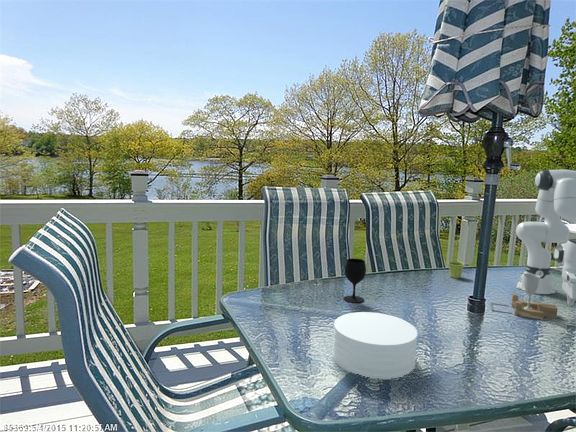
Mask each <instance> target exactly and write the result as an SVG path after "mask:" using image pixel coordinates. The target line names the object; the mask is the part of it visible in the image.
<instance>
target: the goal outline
mask: <svg viewBox="0 0 576 432" xmlns="http://www.w3.org/2000/svg"><path fill="white" fill-rule="evenodd" d="M489 305H490V309H491V311H492V312H498V313H505V314H512V312H509V311H503V310H497V309H494V307H493V305H497V306H504V307H505V306H506V307H510V305H509V304H502V303H495V302H489Z"/></svg>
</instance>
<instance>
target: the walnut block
mask: <svg viewBox="0 0 576 432" xmlns="http://www.w3.org/2000/svg"><path fill="white" fill-rule="evenodd" d="M537 303H538V304H537V311H543V313H544V315H543V318H549V319H557V315H558V307H557V306H556V304H553V303H546V302H540V301H537Z"/></svg>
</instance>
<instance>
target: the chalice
mask: <svg viewBox="0 0 576 432" xmlns="http://www.w3.org/2000/svg"><path fill="white" fill-rule="evenodd" d="M523 274H524V273H523ZM539 278H540V276H539V275H535V274H528V273H526V274H524V288H525V293H526V294H527V295H528V297H527V301H526V302H527V304H528V305H527V307H524V309H529V310H533V309H532V308H530V303H531V302H532V301H531V300H532V298H531V297H532V296H533V295H534V294H536V293H535V291H536V290H537V288H538V284H539Z"/></svg>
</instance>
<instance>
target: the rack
mask: <svg viewBox="0 0 576 432" xmlns="http://www.w3.org/2000/svg"><path fill="white" fill-rule="evenodd" d="M527 302H528V301H524V300H519V294H516V293H512V294H511V303H510V306H511V307H512V308H514V311H513V314H514V316H517V317H518V316H519V317H524V318H531V319H537V320H541V321H542V320H544V317H543V315H544V313H543V311H537V304H538V302H532V301H530V302H531V303H530V308H532V309H533V310H529V309H524V307H527V305H528V304H527Z"/></svg>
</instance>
